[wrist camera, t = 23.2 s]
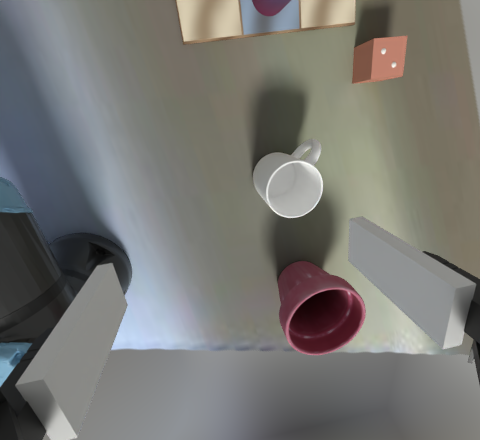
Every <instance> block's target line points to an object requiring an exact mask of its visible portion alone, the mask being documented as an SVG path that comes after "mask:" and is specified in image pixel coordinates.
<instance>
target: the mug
mask: <svg viewBox="0 0 480 440" xmlns="http://www.w3.org/2000/svg"><path fill="white" fill-rule="evenodd" d="M309 148H311V151H310V153H309V155H308V156H307V158H306V159H305V160H301V159H300V157H301V156H302V155H303V154H304V152H305V151H307V150H308V149H309ZM320 152H321V144H320V142H319V141H318V140H316V139H309V140H307V141H305V142H303V143H302V144H301V145H300V146H299V147H298V148H297V149H296V150H295V151H294V152H293V153H292V155H288V154H285V153H281V152H275V153H270V154H268V155H266V156H264V157H263V158H262V159H261V160H260V161H259V162H258V163H257V165H256V167H255V169H254V172H253V182H254V186H255V188H256V190H257V192H258V193H259V194H260V195H261V197H262V198H263V199H264V200H265V202H266V203H267V204H268V205H269V206H270V208H271V209H272V210H273V211H274V212H275V213H277V214H278V215H280V216H283V217H287V218H296V217H300V216H303V215H305V214H307V213H308V212H310V211H311V210H312V209H313V208H314V207H315V206H316V205H317V203H318V202H319V200H320V198H321V195H322V191H323V181H322V177H321V174H320V172H319V171H318V169H317V168H316V167H315V166H314V165H315V163H316V162H317V160H318V158H319V156H320Z"/></svg>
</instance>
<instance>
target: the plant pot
mask: <svg viewBox="0 0 480 440" xmlns="http://www.w3.org/2000/svg"><path fill="white" fill-rule="evenodd" d="M278 288H279V295H280V301H281V307H280V312H279V319H280V323H281V326H282V329H283V331H284V333H285V336H286V338H287V340H288V342H289V344H290V345H291V346H292V347H293V348H294V349H295V350H297V351H299V352H301V353H304V354H309V355H321V354H327V353H330V352H333V351H335V350H338V349H340V348H341V347H343V346H344V345H346V344H347V343H349V342H350V341H351V340H352V339H353V338H354V337H355V336H356V335H357V333H358V332H359V330H360V329H361V327H362V325H363V322H364V319H365V313H366V310H365V304H364V302H363V300H362V298H361V296H360V295H359V294H358V293H357V292H356V290H355V289H354V288H353V287H352V286H351V285H350V284H349V283H348V282H347V281H345V280H344V279H342V278H340V277H338V276H334V275H330V274H329V273H327V272H325V271H324V270H322V269H321V268H319V267H317V266H316V265H314V264H312V263H310V262H307V261H298V262H294V263H292V264H290V265H288V266H287V267H286V268H285V269H284V270H283V271H282V272H281V274H280V276H279V279H278Z"/></svg>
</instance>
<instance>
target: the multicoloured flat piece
mask: <svg viewBox="0 0 480 440" xmlns="http://www.w3.org/2000/svg"><path fill="white" fill-rule="evenodd" d="M175 1H176V6H177V12H178V18H179V23H180V29H181V34H182V40H183V45H184V44H193V43H202V42H210V41H219V40H228V39H236V38H245V37H254V36H263V35H271V34H280V33H289V32H298V31H306V30H315V29H324V28H333V27H341V26H350V25H354V24H355V8H356V0H291V1H290V2H289V3H288V4H287V5H286V6H285V7H284V8H283V9H282V10H281V11H280V12H279V13H278V14H276V15H274V16H264V15H262V14H261V13H259V12H258V11H257V10H256V8H255V7H254V5H253V2H252V0H175Z"/></svg>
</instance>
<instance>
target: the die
mask: <svg viewBox="0 0 480 440" xmlns="http://www.w3.org/2000/svg"><path fill="white" fill-rule="evenodd" d="M406 43H407V36H400V37H387V38H374V39H372V40H370V41H368V42H365V43H363V44H361V45H359V46H357V47H354V61H353V80H352V84H354V83H364V82H374V81H382V80H387V79H392V78H397V77H401V76H403V69H404V60H405V52H406Z"/></svg>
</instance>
